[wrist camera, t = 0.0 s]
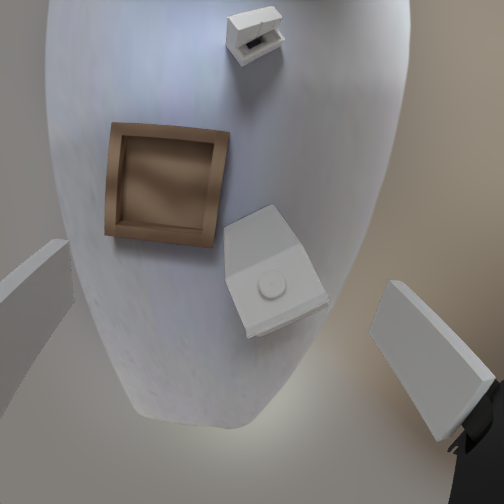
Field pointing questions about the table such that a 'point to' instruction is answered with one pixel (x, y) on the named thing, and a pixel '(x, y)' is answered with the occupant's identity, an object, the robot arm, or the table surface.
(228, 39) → the white angled block
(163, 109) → the table surface
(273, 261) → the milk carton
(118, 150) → the square wooden tray
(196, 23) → the table surface
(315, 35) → the table surface
